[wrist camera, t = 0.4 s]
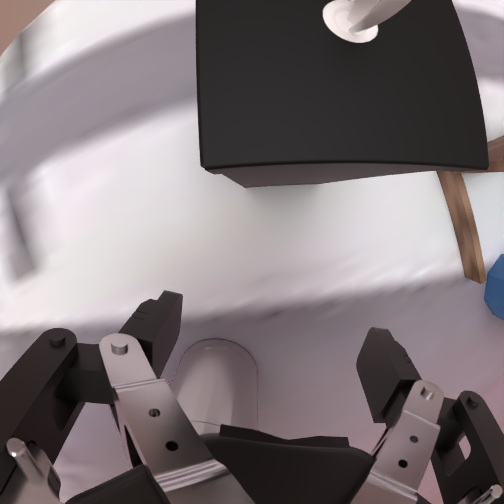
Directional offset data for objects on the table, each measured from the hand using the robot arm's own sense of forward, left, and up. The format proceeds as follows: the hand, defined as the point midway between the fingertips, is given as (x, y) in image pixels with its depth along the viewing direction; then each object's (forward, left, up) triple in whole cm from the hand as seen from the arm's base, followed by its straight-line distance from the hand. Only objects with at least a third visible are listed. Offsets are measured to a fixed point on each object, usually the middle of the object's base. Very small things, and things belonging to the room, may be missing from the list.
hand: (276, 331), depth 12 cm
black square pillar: (+10, +1, -20) cm, 23 cm away
